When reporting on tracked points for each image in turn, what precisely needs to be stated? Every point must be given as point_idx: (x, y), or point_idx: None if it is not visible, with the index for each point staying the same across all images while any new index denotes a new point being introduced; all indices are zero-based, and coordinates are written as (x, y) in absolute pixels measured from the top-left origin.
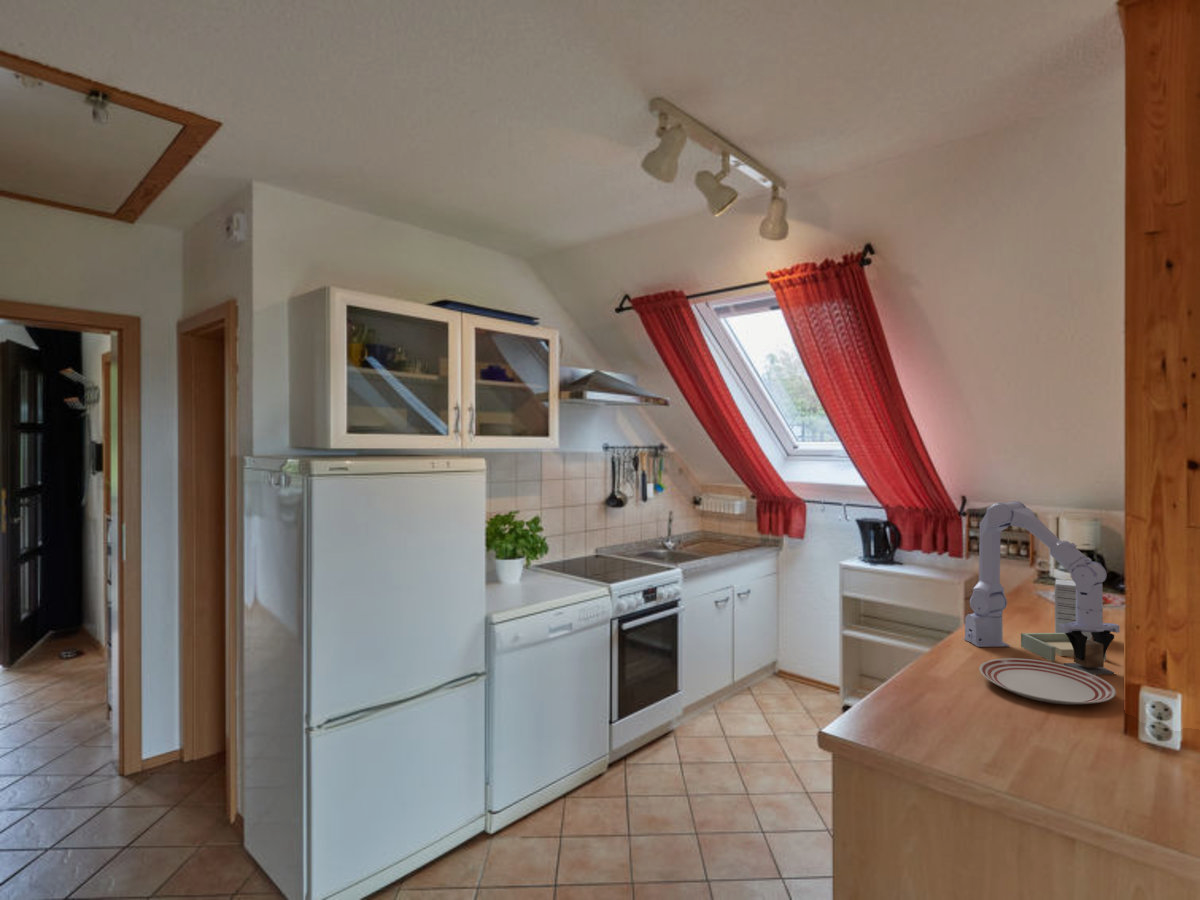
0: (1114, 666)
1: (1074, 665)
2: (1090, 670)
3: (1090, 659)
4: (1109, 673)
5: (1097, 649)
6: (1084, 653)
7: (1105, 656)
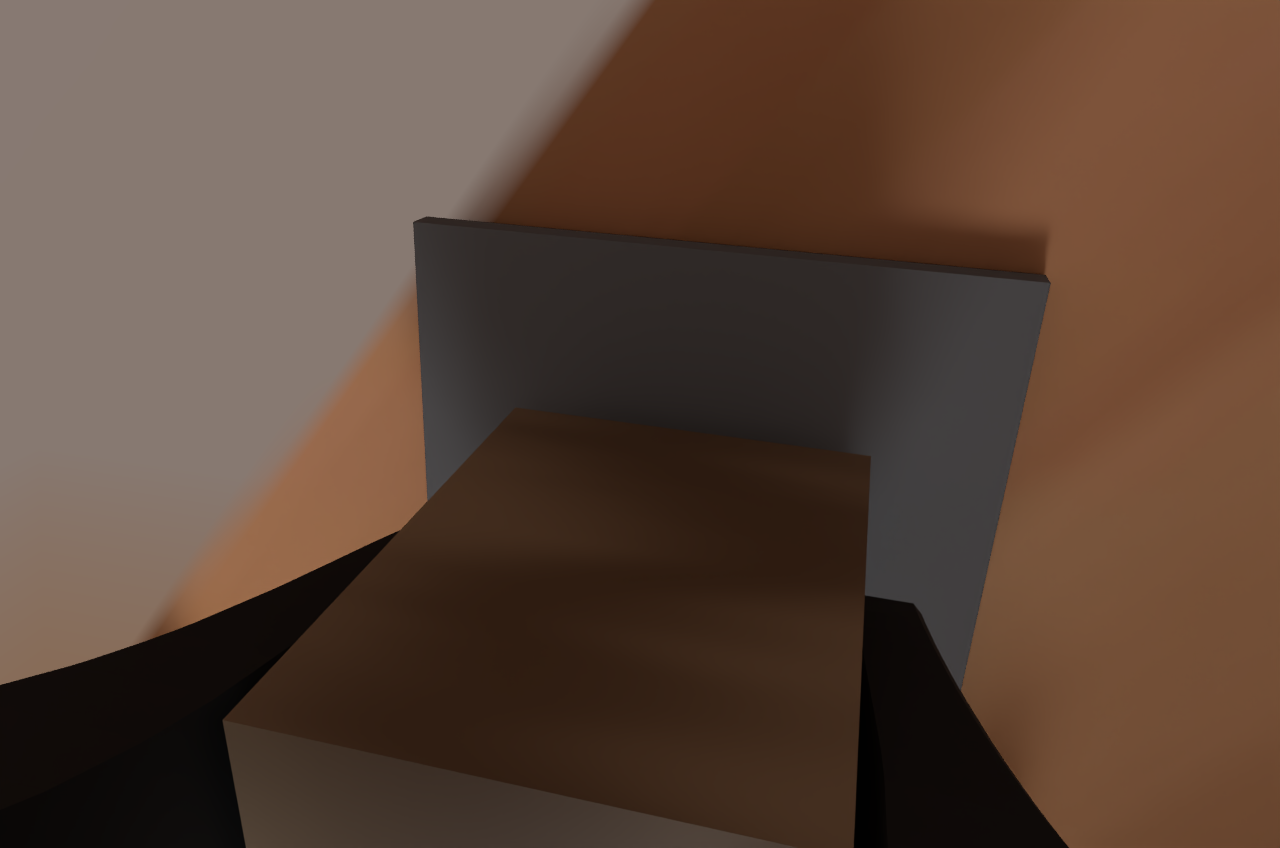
0: (203, 563)
1: None
2: (773, 432)
3: (756, 529)
4: (543, 239)
5: (485, 651)
6: (875, 670)
7: None
